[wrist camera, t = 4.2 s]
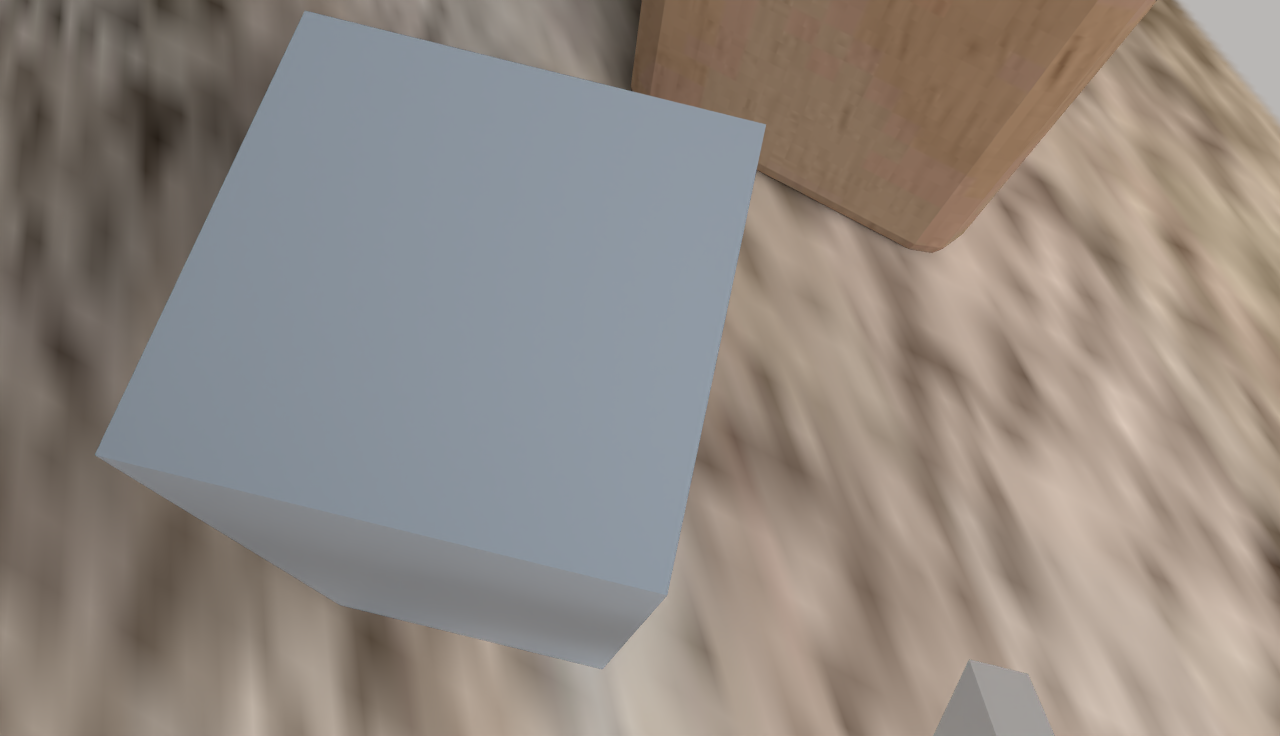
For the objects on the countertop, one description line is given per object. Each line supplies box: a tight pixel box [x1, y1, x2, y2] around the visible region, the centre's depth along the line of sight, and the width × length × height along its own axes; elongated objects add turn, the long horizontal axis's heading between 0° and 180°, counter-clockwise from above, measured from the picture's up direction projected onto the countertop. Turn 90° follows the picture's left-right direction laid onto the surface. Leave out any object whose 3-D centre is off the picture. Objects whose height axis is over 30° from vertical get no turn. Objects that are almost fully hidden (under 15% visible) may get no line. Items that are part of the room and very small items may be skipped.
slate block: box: [95, 11, 766, 669], centre depth 16 cm, size 6×6×12 cm
